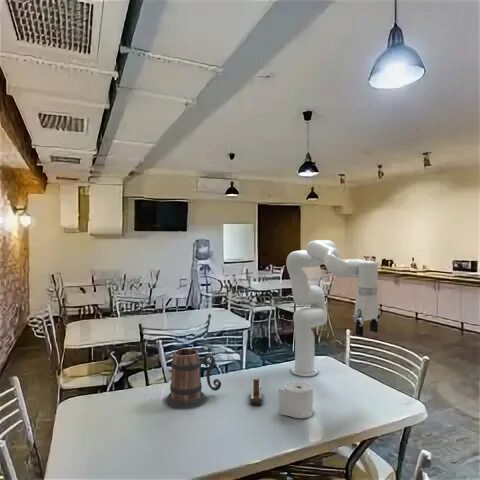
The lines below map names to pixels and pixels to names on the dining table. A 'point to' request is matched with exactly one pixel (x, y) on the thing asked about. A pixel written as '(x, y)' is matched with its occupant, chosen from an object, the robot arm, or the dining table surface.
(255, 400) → the brush
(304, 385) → the toilet tissue
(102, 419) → the dining table surface
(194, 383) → the tankard
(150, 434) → the dining table surface
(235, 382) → the dining table surface
